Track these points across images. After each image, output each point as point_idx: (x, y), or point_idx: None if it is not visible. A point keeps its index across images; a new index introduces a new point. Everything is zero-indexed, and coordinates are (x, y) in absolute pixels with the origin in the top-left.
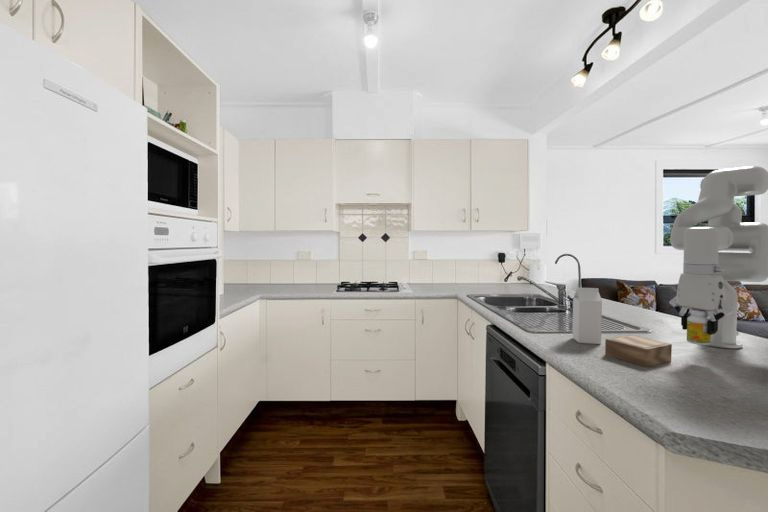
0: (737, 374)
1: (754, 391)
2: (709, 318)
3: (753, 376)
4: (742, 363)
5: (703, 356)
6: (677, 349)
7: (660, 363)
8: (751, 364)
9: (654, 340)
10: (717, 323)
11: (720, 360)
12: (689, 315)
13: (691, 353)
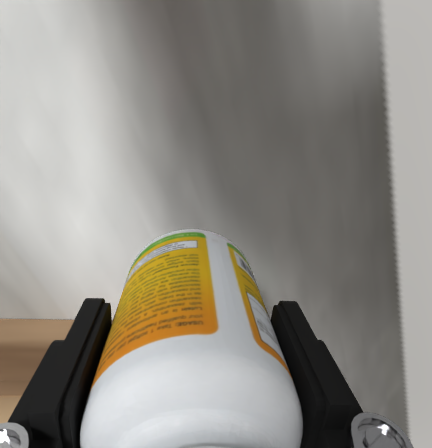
0: (334, 275)
1: (392, 393)
2: (290, 428)
3: (375, 250)
4: (314, 62)
5: (159, 98)
6: (8, 62)
7: None
8: (346, 39)
9: (22, 380)
10: (352, 402)
11: (235, 104)
12: (54, 427)
13: (97, 89)
